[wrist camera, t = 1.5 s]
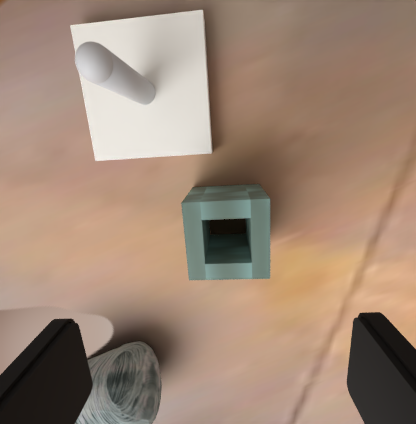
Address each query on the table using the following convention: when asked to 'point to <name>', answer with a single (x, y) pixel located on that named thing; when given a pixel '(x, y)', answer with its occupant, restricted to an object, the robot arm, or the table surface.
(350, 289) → the table surface
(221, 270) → the bead
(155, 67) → the white peg stand
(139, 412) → the spool
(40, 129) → the table surface
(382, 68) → the table surface
